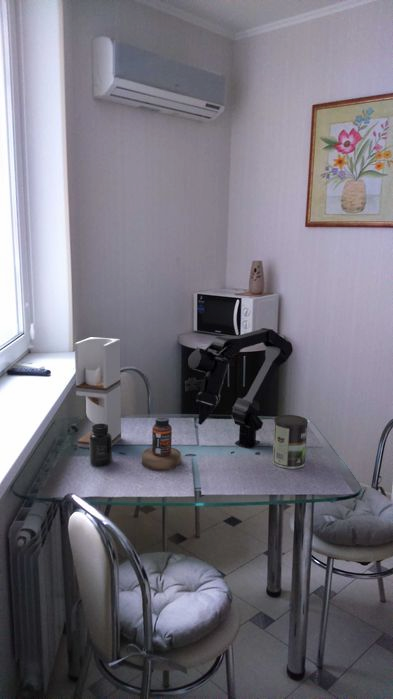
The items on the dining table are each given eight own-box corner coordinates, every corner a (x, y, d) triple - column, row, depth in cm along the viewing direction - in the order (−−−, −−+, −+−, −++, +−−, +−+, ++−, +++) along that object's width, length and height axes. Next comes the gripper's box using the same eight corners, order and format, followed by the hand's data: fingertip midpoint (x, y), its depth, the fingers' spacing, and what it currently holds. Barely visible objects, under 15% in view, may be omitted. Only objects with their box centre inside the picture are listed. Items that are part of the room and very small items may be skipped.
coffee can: (307, 458, 175) (309, 416, 172) (302, 471, 166) (305, 427, 163) (275, 453, 178) (277, 412, 176) (269, 466, 169) (271, 422, 166)
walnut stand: (157, 452, 178) (157, 443, 178) (188, 460, 172) (188, 452, 171) (133, 464, 168) (133, 455, 168) (164, 474, 162) (164, 464, 161)
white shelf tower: (93, 434, 192) (90, 337, 185) (121, 438, 190) (120, 339, 182) (77, 446, 182) (74, 343, 174) (107, 450, 179) (105, 345, 171)
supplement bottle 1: (116, 460, 171) (115, 423, 169) (105, 468, 165) (104, 431, 162) (96, 456, 174) (95, 420, 171) (85, 465, 167) (84, 428, 165)
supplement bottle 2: (160, 459, 165) (161, 423, 163) (148, 453, 169) (148, 418, 167) (175, 453, 170) (175, 418, 167) (162, 448, 174) (162, 414, 171)
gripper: (194, 368, 183) (180, 412, 183) (187, 367, 164) (172, 417, 164) (226, 378, 182) (212, 423, 181) (223, 378, 163) (208, 429, 163)
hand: (201, 422), depth 172 cm, fingers open, 9 cm apart
